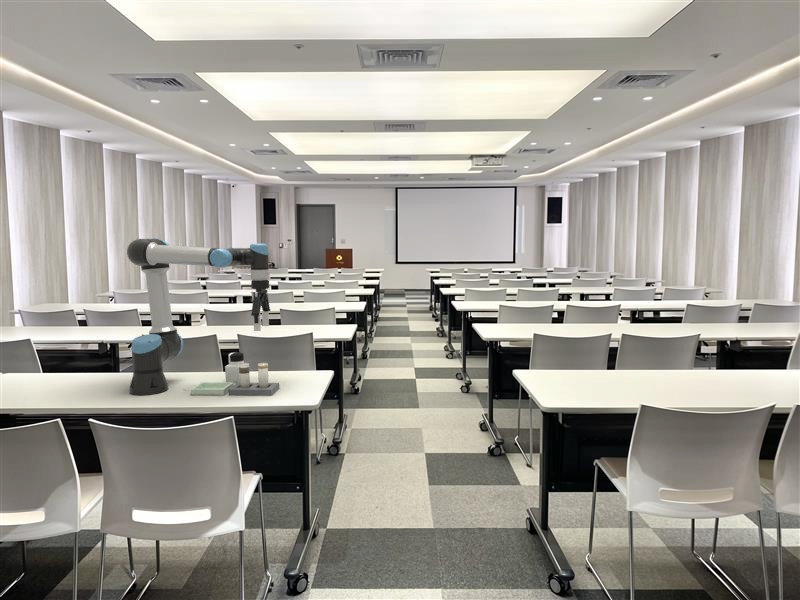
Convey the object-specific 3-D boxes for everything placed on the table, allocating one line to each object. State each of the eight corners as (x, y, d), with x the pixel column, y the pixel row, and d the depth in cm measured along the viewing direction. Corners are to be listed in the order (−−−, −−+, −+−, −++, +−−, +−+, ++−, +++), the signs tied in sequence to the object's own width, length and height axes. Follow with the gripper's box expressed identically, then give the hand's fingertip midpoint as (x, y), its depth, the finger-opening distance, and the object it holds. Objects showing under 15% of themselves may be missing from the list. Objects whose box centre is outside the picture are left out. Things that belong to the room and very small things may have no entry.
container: (248, 379, 268) (247, 351, 266) (242, 383, 260) (241, 354, 259) (232, 378, 268) (230, 351, 267) (225, 383, 261) (224, 354, 259)
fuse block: (228, 395, 239) (228, 389, 239) (238, 388, 251) (238, 382, 251) (271, 395, 238) (271, 389, 238) (279, 388, 250) (279, 382, 250)
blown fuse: (238, 393, 243) (237, 364, 241) (241, 390, 247) (240, 362, 246) (248, 393, 242) (247, 364, 241) (251, 390, 247) (250, 362, 245)
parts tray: (190, 395, 240) (190, 389, 240) (202, 388, 252) (201, 382, 252) (223, 395, 239) (223, 389, 239) (233, 388, 251) (233, 382, 251)
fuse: (257, 393, 242) (256, 364, 241) (260, 390, 246) (259, 362, 245) (267, 393, 242) (266, 364, 241) (270, 390, 246) (269, 362, 245)
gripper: (261, 281, 237) (262, 332, 239) (275, 277, 262) (277, 324, 264) (242, 281, 237) (244, 332, 240) (259, 277, 262) (260, 324, 264)
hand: (261, 328), depth 252 cm, fingers open, 13 cm apart
